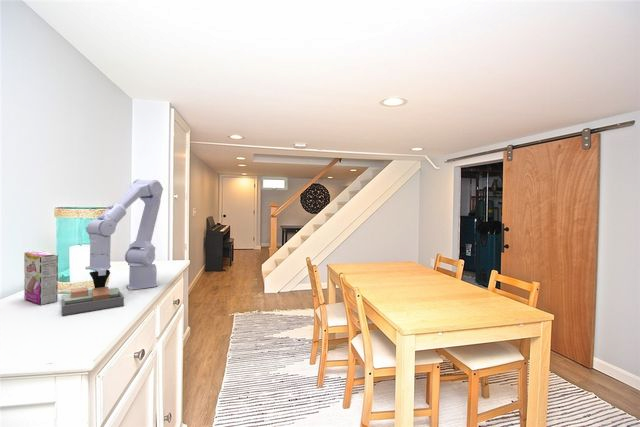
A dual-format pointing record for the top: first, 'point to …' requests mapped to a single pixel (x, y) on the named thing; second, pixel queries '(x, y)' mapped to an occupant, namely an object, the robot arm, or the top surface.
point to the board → (68, 298)
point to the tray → (91, 305)
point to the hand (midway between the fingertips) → (99, 291)
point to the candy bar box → (40, 277)
